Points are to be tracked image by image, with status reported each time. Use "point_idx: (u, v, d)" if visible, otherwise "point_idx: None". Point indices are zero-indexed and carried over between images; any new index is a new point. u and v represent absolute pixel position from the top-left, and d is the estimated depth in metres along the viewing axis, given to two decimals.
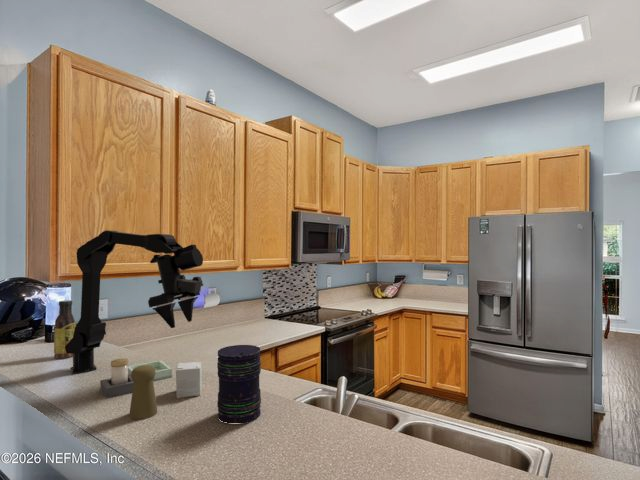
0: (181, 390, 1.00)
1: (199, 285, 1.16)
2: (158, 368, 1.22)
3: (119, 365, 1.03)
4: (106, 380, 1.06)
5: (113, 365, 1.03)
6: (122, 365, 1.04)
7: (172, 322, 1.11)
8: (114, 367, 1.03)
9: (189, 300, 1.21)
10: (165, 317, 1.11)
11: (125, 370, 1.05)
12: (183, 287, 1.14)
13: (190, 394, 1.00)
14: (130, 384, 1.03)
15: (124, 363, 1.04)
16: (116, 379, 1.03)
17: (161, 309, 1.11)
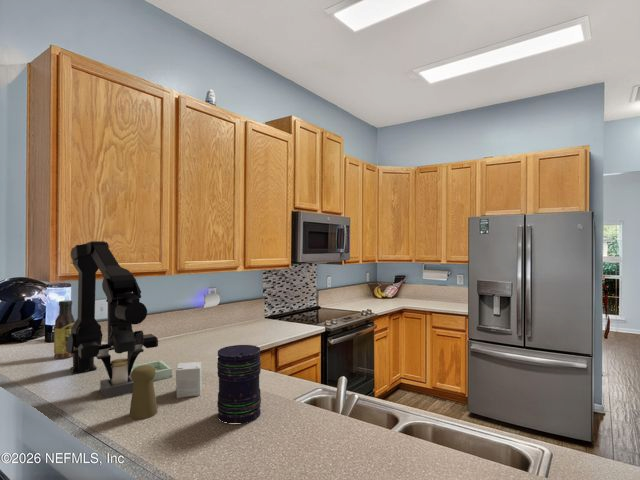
0: (181, 390, 1.00)
1: (129, 345, 0.99)
2: (158, 368, 1.22)
3: (119, 365, 1.03)
4: (106, 380, 1.06)
5: (113, 365, 1.03)
6: (122, 365, 1.04)
7: (108, 374, 1.03)
8: (114, 367, 1.03)
9: (131, 352, 1.06)
10: (105, 366, 1.04)
11: (125, 370, 1.05)
12: (113, 342, 1.00)
13: (190, 394, 1.00)
14: (130, 384, 1.03)
15: (124, 363, 1.04)
16: (116, 379, 1.03)
17: None
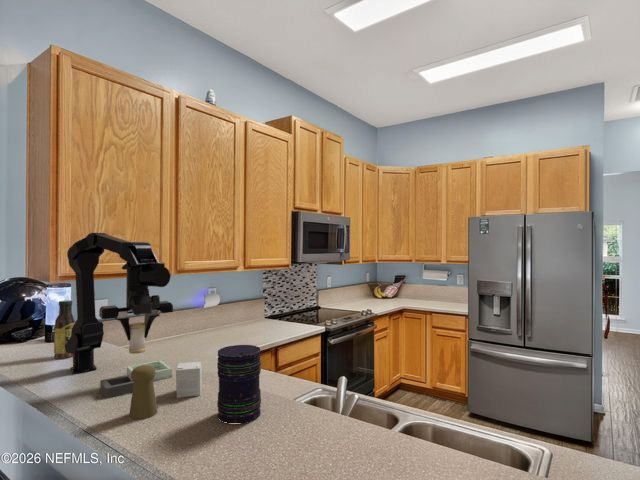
0: (181, 390, 1.00)
1: (147, 307, 1.06)
2: (158, 368, 1.22)
3: (137, 327, 1.10)
4: (106, 380, 1.06)
5: (131, 327, 1.10)
6: (139, 327, 1.10)
7: (127, 335, 1.10)
8: (132, 329, 1.10)
9: (148, 316, 1.13)
10: None
11: (142, 333, 1.11)
12: (131, 305, 1.07)
13: (190, 394, 1.00)
14: (130, 384, 1.03)
15: (141, 326, 1.11)
16: (134, 340, 1.10)
17: None
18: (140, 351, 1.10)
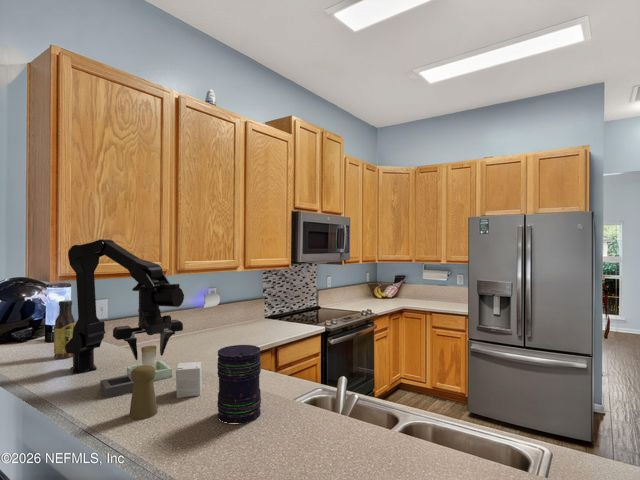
0: (181, 390, 1.00)
1: (159, 328, 1.11)
2: (158, 368, 1.22)
3: (149, 351, 1.15)
4: (106, 380, 1.06)
5: (143, 351, 1.15)
6: (151, 351, 1.15)
7: (134, 355, 1.14)
8: (145, 353, 1.15)
9: (164, 334, 1.18)
10: (131, 348, 1.14)
11: (154, 356, 1.16)
12: (145, 325, 1.11)
13: (190, 394, 1.00)
14: (130, 384, 1.03)
15: (153, 349, 1.16)
16: (146, 363, 1.15)
17: None
18: None
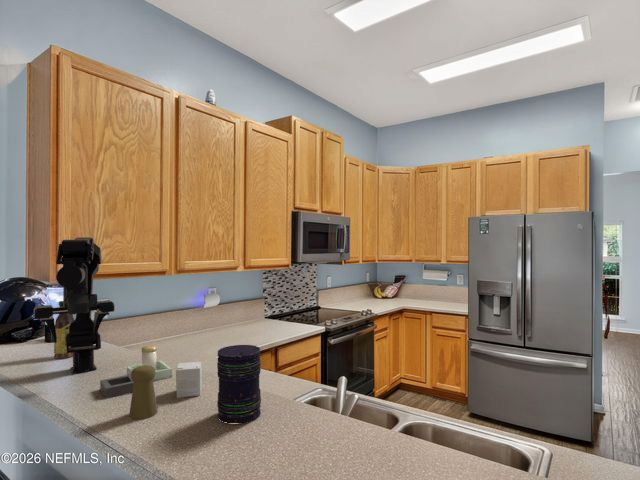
0: (181, 390, 1.00)
1: (82, 307, 1.02)
2: (158, 368, 1.22)
3: (149, 351, 1.15)
4: (106, 380, 1.06)
5: (144, 351, 1.15)
6: (152, 351, 1.15)
7: (53, 337, 1.04)
8: (145, 353, 1.15)
9: (96, 315, 1.10)
10: None
11: (154, 356, 1.16)
12: (67, 304, 1.03)
13: (190, 394, 1.00)
14: (130, 384, 1.03)
15: (153, 349, 1.16)
16: (146, 363, 1.15)
17: None
18: None
